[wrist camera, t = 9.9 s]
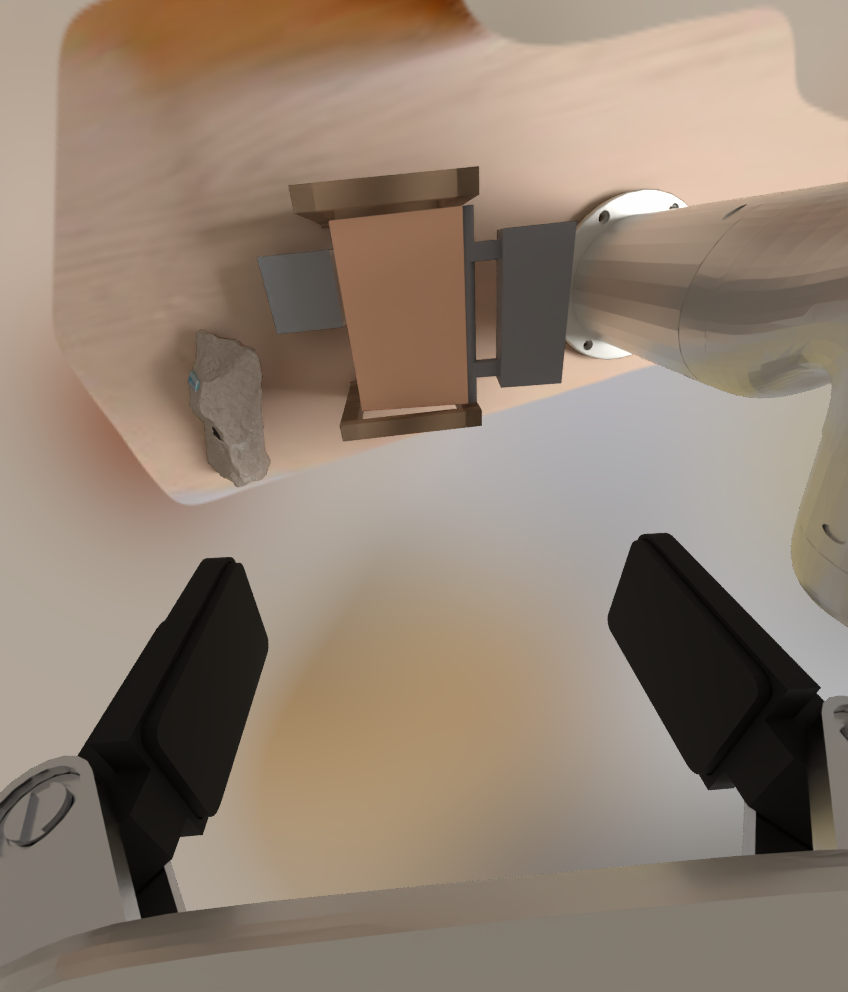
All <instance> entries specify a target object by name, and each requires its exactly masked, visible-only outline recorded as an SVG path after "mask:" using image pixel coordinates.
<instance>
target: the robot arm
mask: <svg viewBox="0 0 848 992" xmlns="http://www.w3.org/2000/svg"><path fill="white" fill-rule="evenodd" d="M600 214H601V215H602V219H601V220H600V222H599V215H600ZM565 341H566V342H567V343H568V344H569V345H570V346H572V347H573V348H574V349H575V350H577V351H579V352H580V353H582V354H584V355H587V356H590V357H593V358H596V359H607V360H609V359H618V358H623V357H627V356H630V355H633V354H634V355H636V356H639V357H641V358H643V359H646V360H648V361H651V362H653V363H655V364H658V365H660V366H663V367H665V368H667V369H670V370H672V371H675V372H677V373H680V374H682V375H684V376H687V377H689V378H692V379H694V380H696V381H699V382H701V383H704V384H706V385H709V386H712V387H714V388H717V389H719V390H722V391H725V392H727V393H731V394H734V395H738V396H743V397H749V398H775V397H783V396H788V395H793V394H797V393H801V392H805V391H809V390H812V389H816V388H819V387H822V386H825V385H827V384H830V383H831V385H832V389H831V399H830V404H829V408H828V411H827V415H826V419H825V422H824V426H823V429H822V437H821V441H820V444H819V447H818V450H817V453H816V457H815V460H814V463H813V466H812V469H811V472H810V475H809V479H808V482H807V485H806V488H805V491H804V495H803V498H802V501H801V504H800V507H799V513H798V516H797V519H796V523H795V526H794V531H793V536H792V542H791V558H792V566H793V569H794V572H795V574H796V576H797V579H798V581H799V583H800V585H801V586H802V587H803V589H804V590H805V591H806V593H807V594H808V595H809V596H810V598H811V599H812V600H813V601H814V602H815V603H816V604H817V605H818V606H819V607H821V608H822V609H823V610H824V611H825V612H827V613H828V614H829V615H831V616H832V617H834V618H835V619H836V620H838V621H840V622H841V623H842V624H844V625H845V626H847V627H848V182H844V183H837V184H831V185H825V186H818V187H812V188H806V189H799V190H793V191H786V192H780V193H773V194H766V195H760V196H753V197H747V198H740V199H733V200H727V201H720V202H713V203H707V204H700V205H693V206H687V205H686V204H685V203H684V201H683V200H681V199H679V198H678V197H676V196H675V195H673V194H672V193H669V192H665V191H662V190H658V189H639V190H634V191H629V192H626V193H623V194H620V195H617V196H614V197H612V198H610V199H609V200H607V201H605V202H603V203H602V204H600V205H598V206H597V207H596V208H595V209H594V210H592V211H591V212H590V213H589V214H588V215H586V216H585V217H584V218H583V220H582V221H581V222H580V223H579V224H578V225H577V226H576V235H575V245H574V256H573V266H572V276H571V287H570V297H569V308H568V318H567V328H566V339H565ZM585 342H586V345H585V346H583V345H584V343H585ZM608 625H609V629H610V631H611V632H612V634H613V636H614V638H615V640H616V641H617V643H618V645H619V647H620V648H621V650H622V652H623V654H624V655H625V657H626V659H627V661H628V662H629V664H630V666H631V668H632V669H633V671H634V673H635V675H636V676H637V678H638V680H639V682H640V683H641V685H642V687H643V689H644V690H645V692H646V694H647V696H648V697H649V699H650V701H651V702H652V704H653V706H654V708H655V710H656V711H657V713H658V715H659V717H660V718H661V720H662V722H663V724H664V725H665V727H666V729H667V731H668V732H669V734H670V736H671V737H672V739H673V741H674V743H675V745H676V746H677V748H678V750H679V752H680V753H681V755H682V757H683V759H684V760H685V762H686V764H687V765H688V767H689V768H690V769H691V770H692V771H693V772H694V773H696V774H699V775H700V777H701V779H702V780H703V782H704V784H705V786H706V787H707V789H708V790H717V789H728V788H734V787H736V788H737V790H738V792H739V793H740V795H741V796H742V798H743V799H744V802H745V803H744V824H743V847H742V856H732V857H722V858H711V859H700V860H688V861H678V862H667V863H657V864H645V865H635V866H623V867H613V868H601V869H591V870H580V871H570V872H560V873H549V874H539V875H530V876H520V877H519V876H518V877H508V878H498V879H488V880H477V881H467V882H457V883H446V884H436V885H426V886H416V887H406V888H396V889H386V890H377V891H367V892H357V893H347V894H337V895H328V896H318V897H308V898H298V899H289V900H279V901H269V902H261V903H253V904H245V905H236V906H228V907H221V908H213V909H204V910H196V911H188V912H186V909H185V906H184V902H183V899H182V896H181V893H180V890H179V887H178V884H177V880H176V877H175V874H174V871H173V868H172V865H171V862H170V860H171V859H172V858H173V855H174V852H175V849H176V846H177V844H178V841H179V838H180V837H184V836H195V835H203V832H204V829H205V826H206V823H207V820H208V817H212V816H214V815H215V814H216V813H217V810H218V809H219V806H220V804H221V801H222V798H223V794H224V791H225V788H226V784H227V781H228V778H229V775H230V772H231V769H232V765H233V762H234V759H235V755H236V753H237V749H238V746H239V743H240V740H241V736H242V733H243V730H244V727H245V724H246V720H247V717H248V714H249V711H250V707H251V704H252V701H253V698H254V695H255V691H256V688H257V685H258V682H259V678H260V675H261V672H262V669H263V666H264V662H265V659H266V656H267V652H268V637H267V634H266V631H265V628H264V626H263V622H262V620H261V617H260V614H259V611H258V608H257V605H256V602H255V599H254V597H253V593H252V590H251V588H250V585H249V581H248V579H247V576H246V573H245V570H244V567H243V565H242V564H241V563H236V562H235V560H234V559H233V558H232V557H223V558H206V559H204V560H203V561H202V562H201V563H200V565H199V566H198V568H197V570H196V571H195V573H194V574H193V576H192V578H191V579H190V581H189V582H188V584H187V586H186V587H185V589H184V591H183V592H182V594H181V596H180V597H179V599H178V600H177V602H176V604H175V605H174V607H173V608H172V610H171V612H170V613H169V615H168V617H167V618H166V620H165V621H163V622H162V623H161V624H160V625H159V627H158V628H157V629H156V631H155V632H154V634H153V635H152V637H151V639H150V640H149V642H148V643H147V645H146V647H145V648H144V650H143V651H142V653H141V655H140V657H139V658H138V660H137V661H136V663H135V665H134V666H133V668H132V669H131V671H130V672H129V674H128V676H127V678H126V679H125V680H124V682H123V684H122V685H121V687H120V688H119V690H118V692H117V693H116V695H115V697H114V698H113V700H112V701H111V703H110V704H109V706H108V708H107V709H106V711H105V713H104V714H103V716H102V717H101V719H100V721H99V722H98V724H97V725H96V727H95V728H94V730H93V732H92V733H91V735H90V737H89V738H88V740H87V741H86V743H85V745H84V746H83V748H82V749H81V751H80V753H79V754H78V756H62V757H58V758H55V759H51V760H48V761H46V762H44V763H42V764H40V765H38V766H36V767H34V768H31V769H30V770H28V771H27V772H25V773H24V774H22V775H21V776H20V777H18V778H17V779H15V780H14V781H13V782H11V783H10V784H9V785H8V786H7V787H6V788H5V789H4V790H3V791H2V792H0V992H848V697H847V696H835V697H830V698H828V699H827V700H826V701H825V702H824V701H823V699H821V697H820V696H819V695H818V694H817V691H818V690H819V689H820V688H821V687H820V686H819V685H818V684H817V683H816V682H815V681H814V680H813V679H812V678H811V677H810V676H809V675H808V674H807V673H806V672H805V671H804V670H803V669H802V668H801V667H800V666H799V665H798V664H797V663H796V662H795V661H794V660H793V659H792V658H791V657H790V656H789V655H788V654H787V653H786V652H785V651H784V650H783V649H782V648H781V646H780V645H779V644H777V642H775V640H774V639H773V638H772V637H771V636H770V635H769V634H768V633H767V632H766V631H765V630H764V629H763V628H762V627H761V626H760V625H759V624H758V623H757V622H756V621H755V620H754V619H753V618H752V617H751V616H750V615H749V614H748V613H747V612H746V611H745V610H744V609H743V608H742V607H741V606H740V605H739V604H738V603H737V601H736V600H735V599H734V598H733V597H731V596H730V594H729V593H728V592H727V591H726V590H725V589H724V588H723V587H722V586H721V585H720V584H719V583H718V582H717V581H716V580H715V579H714V578H713V577H712V576H711V575H710V574H709V573H708V572H707V571H706V570H705V569H704V568H703V567H702V566H701V565H700V564H699V563H698V562H697V561H696V560H695V559H694V558H693V556H691V554H690V553H689V552H688V551H687V550H686V549H685V548H684V547H683V546H682V545H681V544H680V543H679V542H678V541H677V540H676V539H675V538H674V537H673V536H672V535H670V534H668V533H656V534H643V535H641V536H640V537H639V538H638V540H637V541H634V542H633V543H632V545H631V548H630V551H629V554H628V557H627V560H626V563H625V566H624V569H623V572H622V575H621V578H620V581H619V584H618V587H617V590H616V593H615V596H614V599H613V602H612V605H611V608H610V611H609V614H608Z"/></svg>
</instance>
